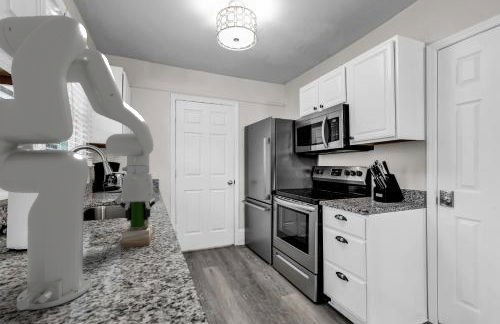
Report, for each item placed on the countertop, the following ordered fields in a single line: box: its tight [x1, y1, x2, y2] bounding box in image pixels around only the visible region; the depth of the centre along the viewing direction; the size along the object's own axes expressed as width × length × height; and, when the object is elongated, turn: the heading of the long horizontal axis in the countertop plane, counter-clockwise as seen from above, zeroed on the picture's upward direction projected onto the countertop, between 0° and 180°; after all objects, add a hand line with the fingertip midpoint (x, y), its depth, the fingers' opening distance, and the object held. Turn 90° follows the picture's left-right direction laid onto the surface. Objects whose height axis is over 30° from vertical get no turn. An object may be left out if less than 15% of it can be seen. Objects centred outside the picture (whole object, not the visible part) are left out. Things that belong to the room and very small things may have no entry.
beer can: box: [129, 202, 146, 229], centre depth 88 cm, size 5×5×12 cm
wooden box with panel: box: [120, 217, 156, 248], centre depth 91 cm, size 16×9×11 cm, turn 16°
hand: (138, 219), depth 88 cm, fingers closed on beer can, 5 cm apart
